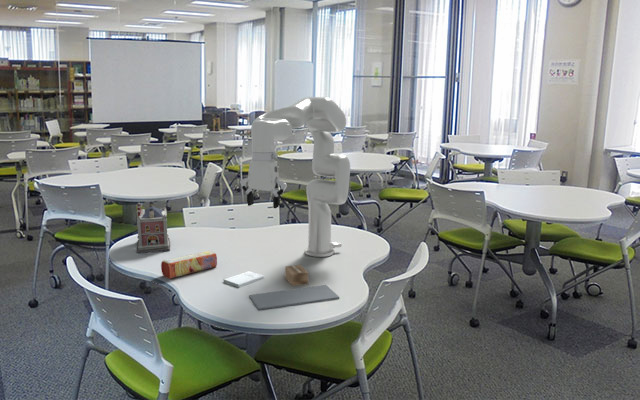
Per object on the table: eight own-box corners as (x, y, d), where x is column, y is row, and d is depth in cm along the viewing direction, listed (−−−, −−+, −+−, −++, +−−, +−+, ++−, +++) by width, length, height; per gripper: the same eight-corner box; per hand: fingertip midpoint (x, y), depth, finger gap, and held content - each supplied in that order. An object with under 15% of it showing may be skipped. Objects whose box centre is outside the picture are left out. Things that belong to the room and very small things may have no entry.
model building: (137, 241, 249) (134, 197, 245) (170, 239, 253) (167, 196, 248) (135, 253, 231) (133, 207, 227) (170, 251, 235) (168, 205, 231)
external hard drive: (223, 283, 201) (248, 274, 210) (238, 288, 195) (263, 279, 205) (223, 279, 200) (248, 270, 210) (238, 284, 195) (263, 275, 205)
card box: (300, 276, 208) (300, 264, 207) (308, 284, 200) (308, 272, 199) (285, 278, 206) (285, 266, 205) (292, 286, 198) (292, 273, 197)
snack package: (209, 263, 220) (209, 247, 219) (218, 268, 216) (218, 251, 214) (160, 276, 206) (159, 259, 205) (169, 281, 201) (168, 263, 200)
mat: (325, 286, 197) (326, 284, 197) (339, 298, 187) (339, 296, 186) (249, 296, 187) (249, 294, 187) (258, 310, 176) (258, 308, 176)
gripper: (290, 157, 188) (290, 206, 192) (245, 154, 194) (245, 202, 197) (281, 159, 181) (281, 210, 185) (235, 156, 187) (235, 206, 190)
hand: (263, 206), depth 191 cm, fingers open, 9 cm apart
